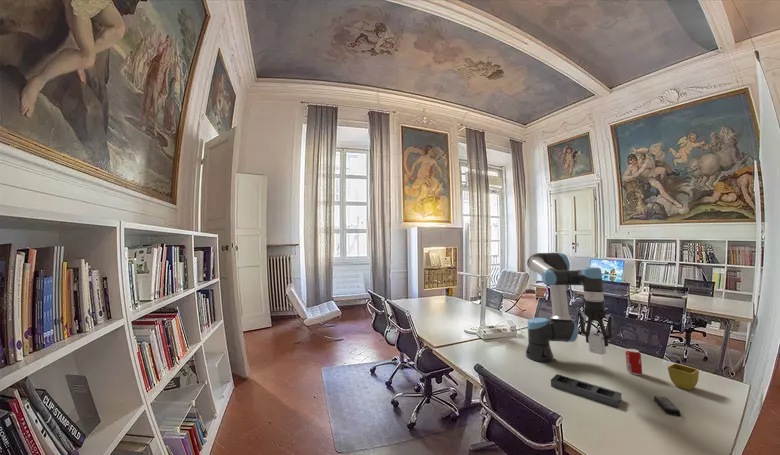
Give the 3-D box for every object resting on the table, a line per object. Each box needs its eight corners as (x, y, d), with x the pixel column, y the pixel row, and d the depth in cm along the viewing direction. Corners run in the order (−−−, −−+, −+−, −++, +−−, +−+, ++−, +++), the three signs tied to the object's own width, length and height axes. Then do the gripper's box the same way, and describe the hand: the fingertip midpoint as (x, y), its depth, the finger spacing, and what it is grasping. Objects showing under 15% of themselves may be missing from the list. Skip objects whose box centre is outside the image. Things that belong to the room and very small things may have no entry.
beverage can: (645, 376, 147) (643, 352, 148) (631, 375, 148) (629, 352, 149) (637, 371, 153) (635, 348, 154) (624, 370, 154) (622, 347, 155)
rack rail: (551, 386, 138) (550, 379, 138) (557, 380, 144) (556, 374, 144) (618, 408, 119) (617, 400, 119) (621, 399, 125) (621, 392, 125)
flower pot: (693, 393, 129) (692, 373, 130) (668, 385, 137) (667, 366, 138) (700, 389, 133) (699, 369, 134) (675, 381, 141) (674, 363, 142)
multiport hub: (666, 414, 115) (665, 408, 115) (654, 400, 125) (653, 395, 125) (680, 417, 113) (680, 411, 113) (667, 403, 123) (666, 397, 123)
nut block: (590, 352, 130) (589, 333, 131) (593, 350, 133) (591, 332, 134) (602, 354, 127) (601, 335, 127) (604, 352, 130) (603, 334, 130)
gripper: (570, 299, 136) (573, 348, 134) (615, 303, 123) (620, 358, 121) (574, 297, 141) (577, 345, 139) (619, 301, 128) (623, 354, 126)
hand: (597, 351), depth 130 cm, fingers closed on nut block, 4 cm apart
